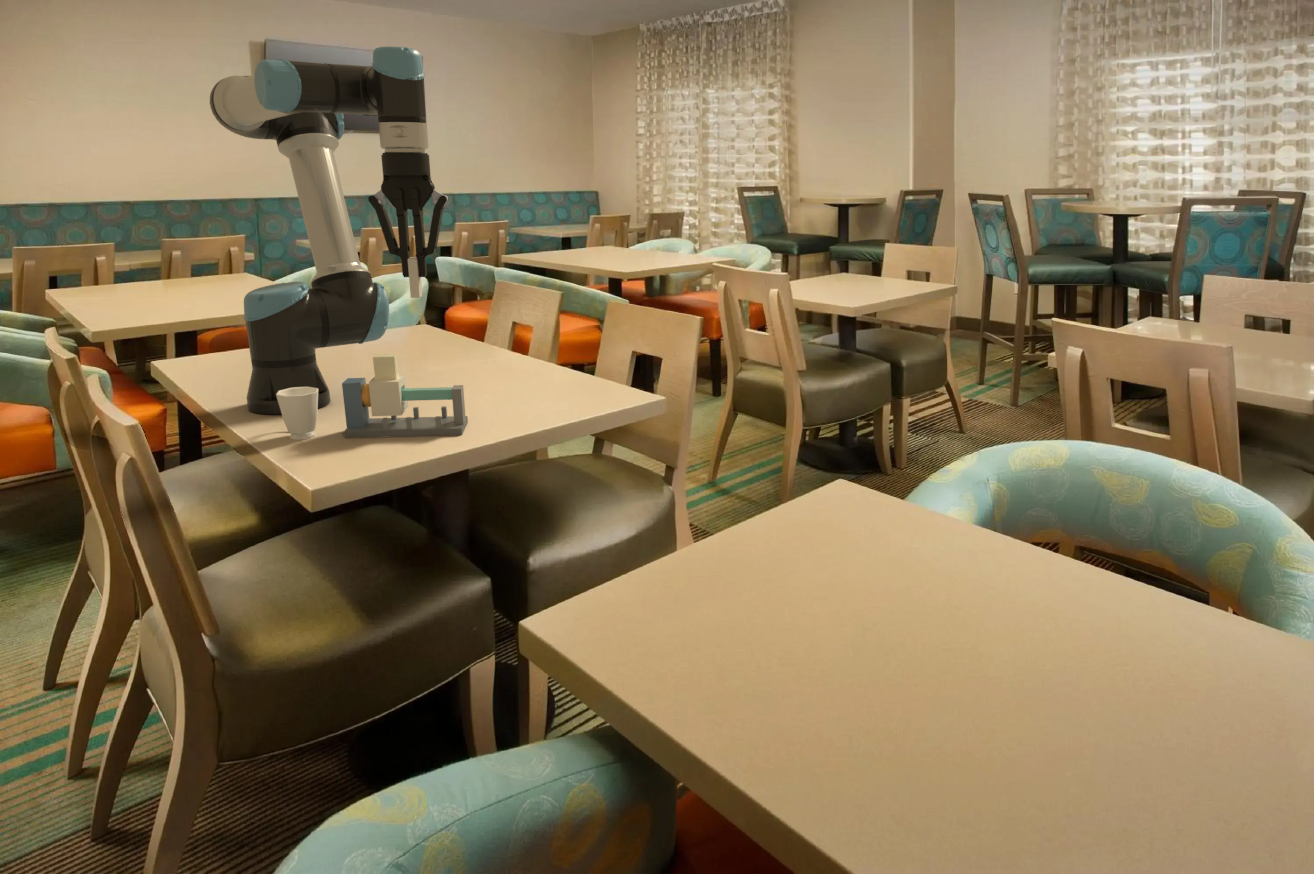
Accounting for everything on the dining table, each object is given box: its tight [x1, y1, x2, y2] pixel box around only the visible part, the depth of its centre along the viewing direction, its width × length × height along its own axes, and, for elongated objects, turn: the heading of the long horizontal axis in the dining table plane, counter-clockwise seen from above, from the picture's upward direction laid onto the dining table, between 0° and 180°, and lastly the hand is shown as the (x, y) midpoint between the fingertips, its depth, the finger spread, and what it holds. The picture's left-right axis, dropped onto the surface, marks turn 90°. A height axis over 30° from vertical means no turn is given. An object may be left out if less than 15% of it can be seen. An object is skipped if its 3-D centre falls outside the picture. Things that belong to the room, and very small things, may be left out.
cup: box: [276, 387, 319, 441], centre depth 152 cm, size 7×10×8 cm
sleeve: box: [368, 353, 409, 417], centre depth 153 cm, size 5×6×10 cm
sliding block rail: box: [341, 377, 469, 439], centre depth 154 cm, size 20×8×9 cm, turn 95°
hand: (416, 296), depth 149 cm, fingers closed
